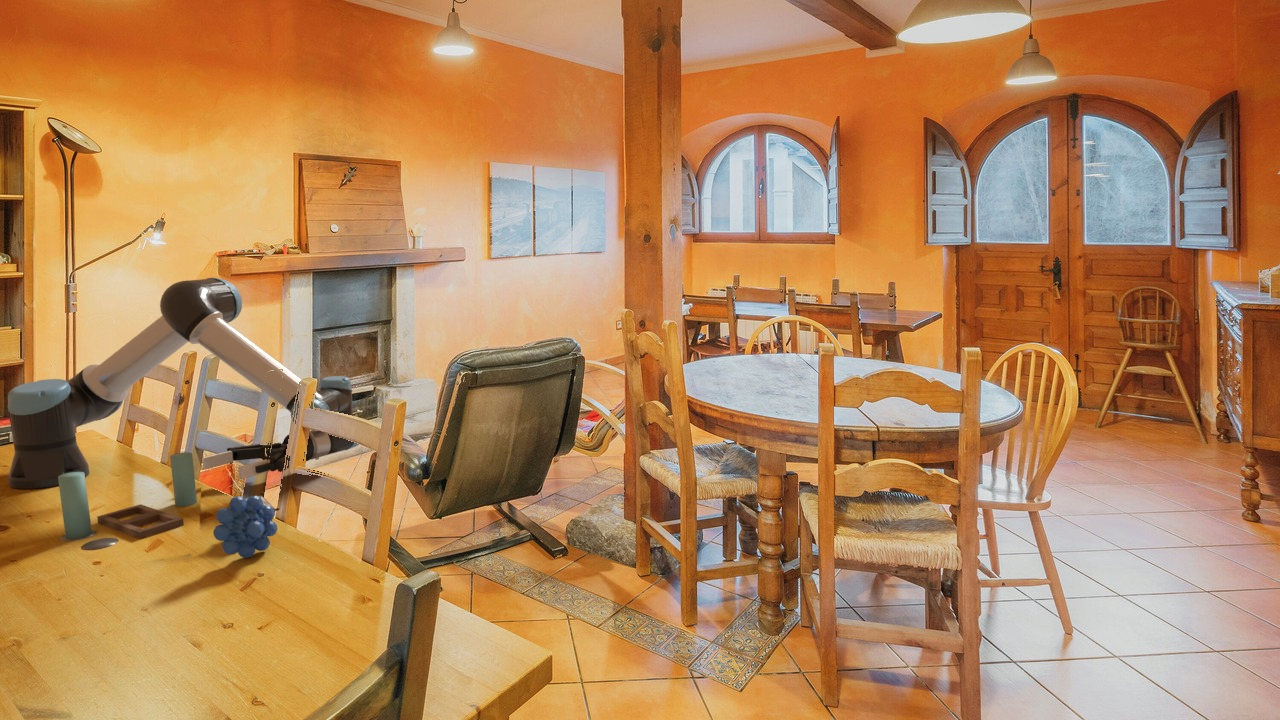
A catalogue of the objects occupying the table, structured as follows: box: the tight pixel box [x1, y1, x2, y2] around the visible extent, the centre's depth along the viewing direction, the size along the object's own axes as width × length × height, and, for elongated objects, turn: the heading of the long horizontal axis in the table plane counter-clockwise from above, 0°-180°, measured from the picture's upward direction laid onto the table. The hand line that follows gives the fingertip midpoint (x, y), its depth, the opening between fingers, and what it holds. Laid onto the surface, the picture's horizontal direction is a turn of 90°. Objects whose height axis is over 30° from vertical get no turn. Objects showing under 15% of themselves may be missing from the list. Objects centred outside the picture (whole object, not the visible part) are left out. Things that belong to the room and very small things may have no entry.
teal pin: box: [169, 451, 198, 508], centre depth 157 cm, size 4×4×12 cm
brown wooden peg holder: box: [96, 503, 185, 540], centre depth 147 cm, size 16×8×2 cm, turn 60°
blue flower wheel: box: [213, 495, 278, 559], centre depth 133 cm, size 12×7×12 cm, turn 150°
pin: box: [58, 472, 93, 539], centre depth 140 cm, size 4×4×12 cm
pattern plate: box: [60, 529, 119, 551], centre depth 140 cm, size 16×8×1 cm, turn 60°
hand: (221, 468), depth 164 cm, fingers open, 13 cm apart
